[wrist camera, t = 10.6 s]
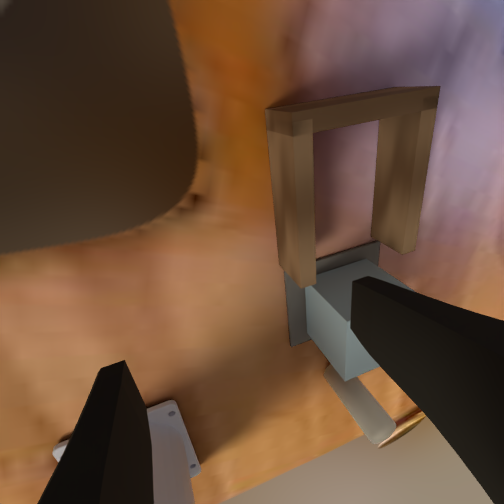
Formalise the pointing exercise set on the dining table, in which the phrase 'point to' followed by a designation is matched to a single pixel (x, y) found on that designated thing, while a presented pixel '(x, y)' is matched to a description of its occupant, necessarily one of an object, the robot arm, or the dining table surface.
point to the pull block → (347, 344)
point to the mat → (296, 294)
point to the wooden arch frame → (386, 177)
